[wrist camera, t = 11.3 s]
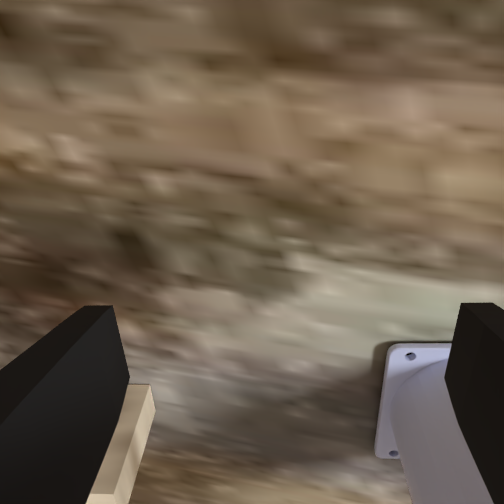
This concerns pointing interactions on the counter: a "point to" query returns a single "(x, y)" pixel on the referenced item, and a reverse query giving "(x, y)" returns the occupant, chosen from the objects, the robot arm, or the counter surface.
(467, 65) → the counter surface
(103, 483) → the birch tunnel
